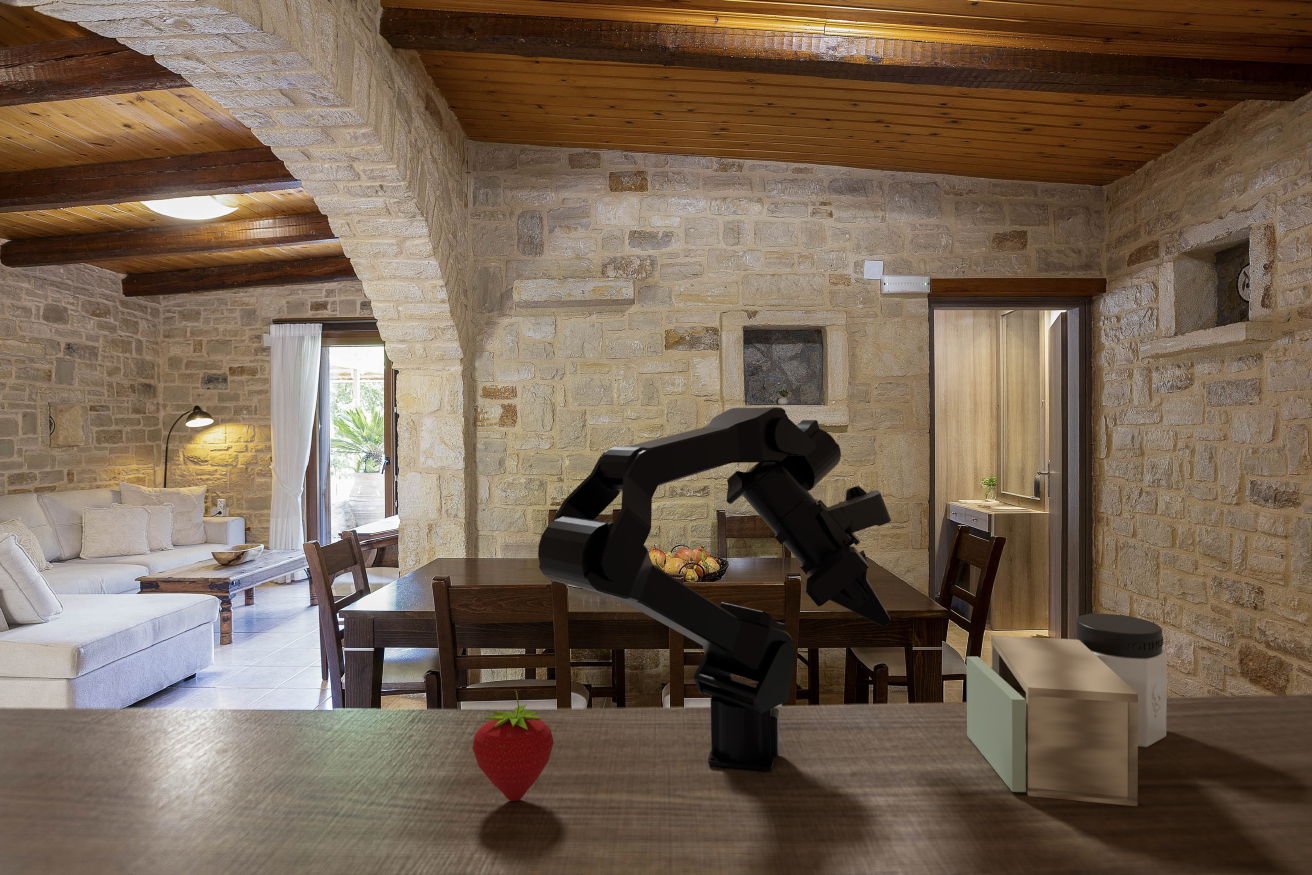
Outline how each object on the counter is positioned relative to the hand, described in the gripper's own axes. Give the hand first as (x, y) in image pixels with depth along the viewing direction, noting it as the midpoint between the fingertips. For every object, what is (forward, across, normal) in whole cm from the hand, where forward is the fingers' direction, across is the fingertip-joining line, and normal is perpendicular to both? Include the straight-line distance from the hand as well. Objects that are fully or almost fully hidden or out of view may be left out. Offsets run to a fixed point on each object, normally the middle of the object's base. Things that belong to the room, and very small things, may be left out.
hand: (887, 623), depth 78 cm
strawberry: (-12, -17, +36) cm, 42 cm away
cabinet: (+21, 0, -4) cm, 21 cm away
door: (+16, -2, +1) cm, 17 cm away
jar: (+26, +9, -11) cm, 30 cm away
